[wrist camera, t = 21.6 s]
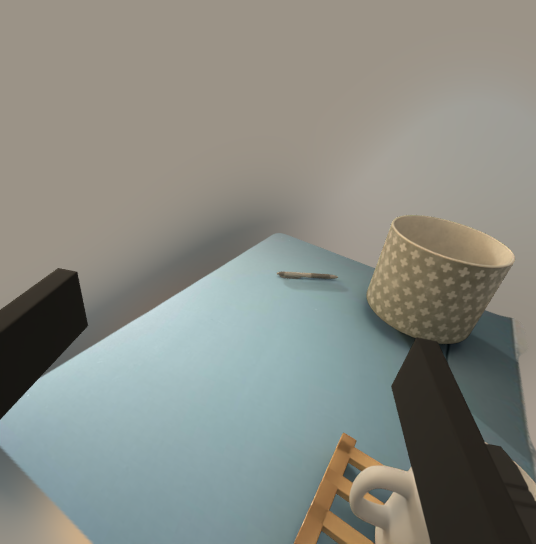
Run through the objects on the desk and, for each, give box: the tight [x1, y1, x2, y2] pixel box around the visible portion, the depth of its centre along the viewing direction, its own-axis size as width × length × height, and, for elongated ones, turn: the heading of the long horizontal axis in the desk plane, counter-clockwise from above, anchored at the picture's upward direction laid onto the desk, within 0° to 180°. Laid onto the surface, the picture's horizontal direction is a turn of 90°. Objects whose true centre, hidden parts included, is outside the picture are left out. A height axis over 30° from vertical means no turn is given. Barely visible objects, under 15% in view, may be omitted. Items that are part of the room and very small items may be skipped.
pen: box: [277, 272, 338, 279], centre depth 71 cm, size 1×14×1 cm, turn 96°
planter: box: [367, 215, 515, 344], centre depth 58 cm, size 19×19×18 cm
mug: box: [349, 442, 536, 544], centre depth 24 cm, size 12×8×11 cm
